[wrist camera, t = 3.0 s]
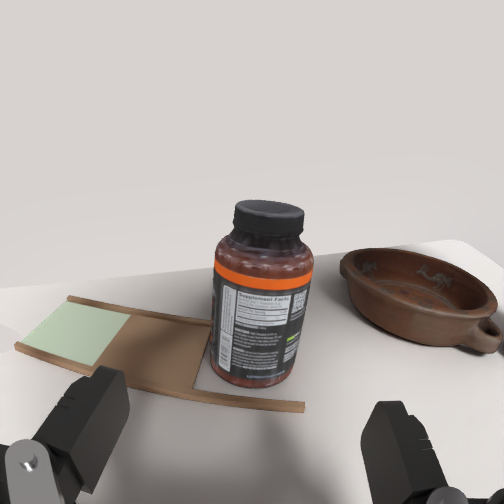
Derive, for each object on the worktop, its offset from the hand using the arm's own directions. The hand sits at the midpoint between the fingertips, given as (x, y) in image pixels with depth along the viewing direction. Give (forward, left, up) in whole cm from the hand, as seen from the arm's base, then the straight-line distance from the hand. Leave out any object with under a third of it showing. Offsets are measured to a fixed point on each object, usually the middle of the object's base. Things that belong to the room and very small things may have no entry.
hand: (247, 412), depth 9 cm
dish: (-17, -22, -7) cm, 29 cm away
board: (+7, -11, -7) cm, 15 cm away
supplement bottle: (0, -11, -7) cm, 13 cm away
